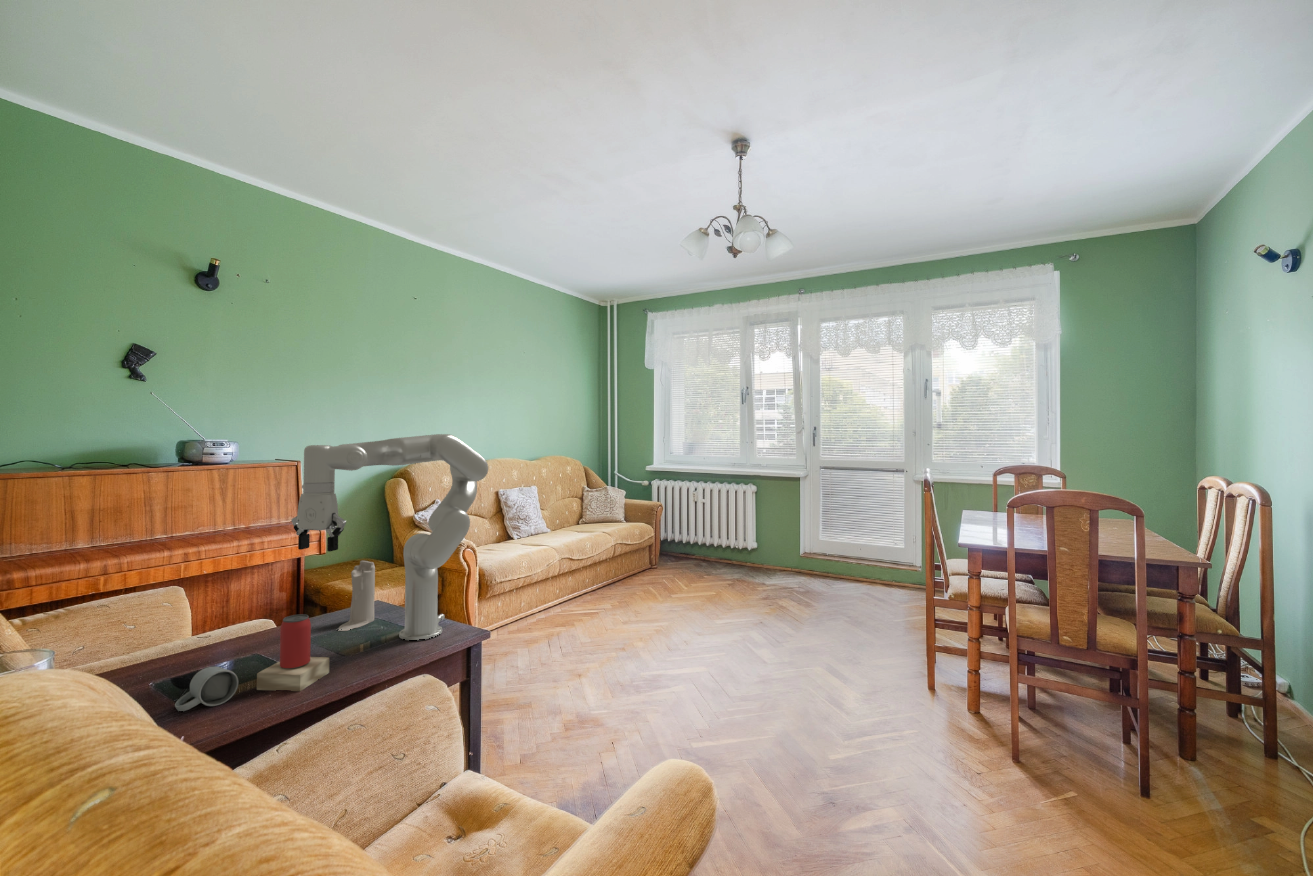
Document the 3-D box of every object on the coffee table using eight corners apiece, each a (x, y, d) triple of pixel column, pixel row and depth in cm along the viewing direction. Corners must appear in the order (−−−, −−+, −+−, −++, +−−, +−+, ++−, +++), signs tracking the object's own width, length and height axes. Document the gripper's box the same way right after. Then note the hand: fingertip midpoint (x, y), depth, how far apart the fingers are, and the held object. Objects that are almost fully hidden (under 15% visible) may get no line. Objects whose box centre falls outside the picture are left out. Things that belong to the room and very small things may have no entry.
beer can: (295, 671, 138) (296, 622, 138) (272, 668, 139) (273, 620, 139) (316, 661, 144) (317, 614, 144) (294, 658, 145) (295, 612, 146)
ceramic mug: (224, 690, 136) (224, 658, 136) (239, 698, 132) (238, 666, 131) (169, 708, 127) (168, 674, 127) (182, 718, 123) (182, 683, 123)
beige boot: (330, 630, 179) (331, 568, 179) (360, 617, 193) (361, 559, 193) (350, 631, 178) (351, 569, 178) (378, 618, 192) (379, 560, 192)
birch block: (288, 671, 147) (289, 656, 147) (329, 672, 147) (329, 657, 147) (256, 689, 136) (257, 673, 136) (300, 691, 136) (300, 674, 136)
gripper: (282, 489, 155) (281, 550, 155) (334, 490, 151) (333, 554, 151) (304, 487, 163) (303, 545, 162) (355, 488, 159) (354, 548, 159)
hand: (318, 549), depth 157 cm, fingers open, 9 cm apart
